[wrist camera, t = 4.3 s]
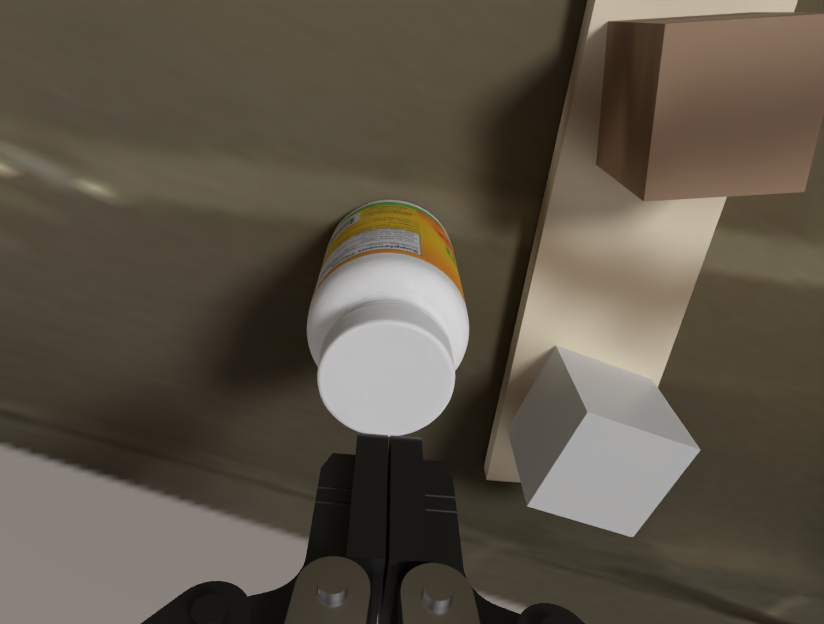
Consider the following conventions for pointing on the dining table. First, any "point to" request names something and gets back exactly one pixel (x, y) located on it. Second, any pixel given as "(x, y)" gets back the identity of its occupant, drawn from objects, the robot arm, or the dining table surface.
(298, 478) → the dining table surface
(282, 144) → the dining table surface
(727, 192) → the walnut block
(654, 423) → the grey block
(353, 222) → the supplement bottle
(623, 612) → the dining table surface
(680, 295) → the birch strip
